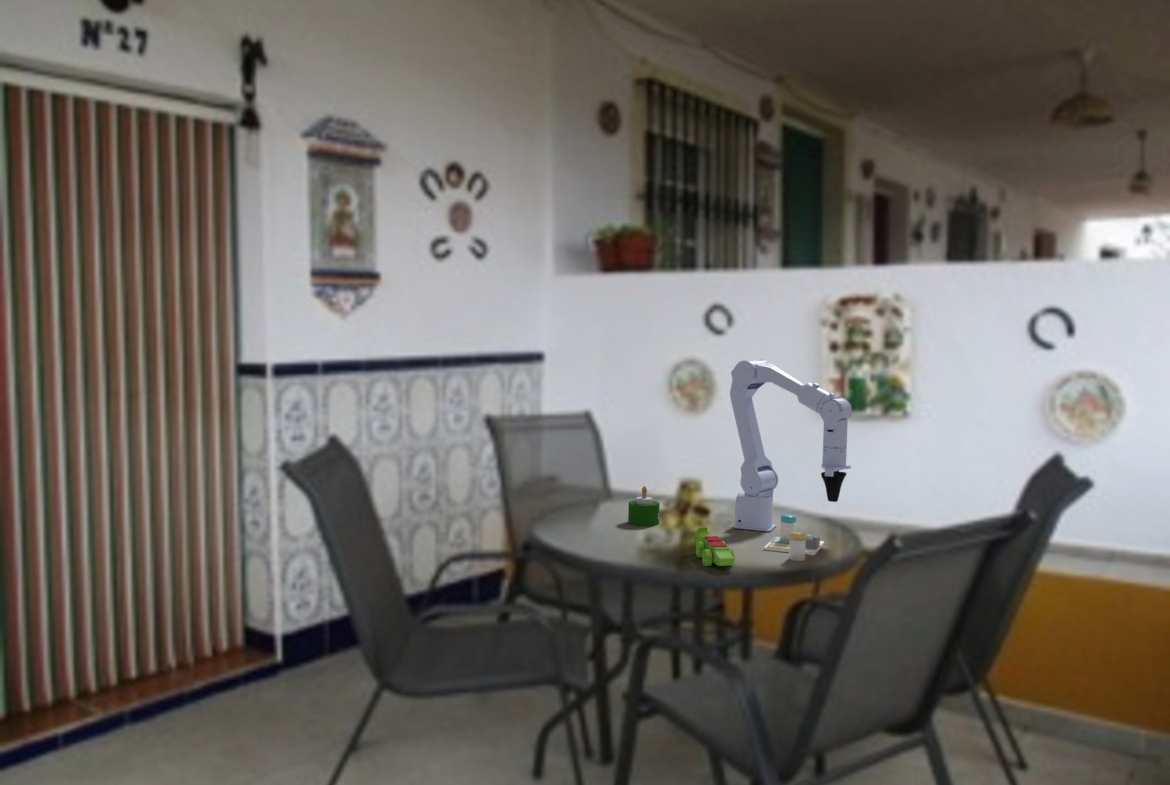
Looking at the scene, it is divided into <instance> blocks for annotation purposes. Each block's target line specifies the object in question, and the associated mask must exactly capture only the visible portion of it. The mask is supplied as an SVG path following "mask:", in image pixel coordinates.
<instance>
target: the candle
mask: <svg viewBox="0 0 1170 785" xmlns="http://www.w3.org/2000/svg"><path fill="white" fill-rule="evenodd" d="M647 492H648V489H647V487H646V486H645V485H644V486H643V487H642V488H641V493H642V495H641V496H637V497H635V500H630V501H628V517H627V519H628V520H627V523H628V525H631V526H636V527H655V526H658V524H659V525H660V518H659V519H658V513H659V514H660V511H661V510H660V507H661V506H660V505H661V504H660V502H659V501H656V500H653V497H651V496H647ZM659 510H660V511H659Z"/></svg>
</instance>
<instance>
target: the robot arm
mask: <svg viewBox="0 0 1170 785" xmlns="http://www.w3.org/2000/svg"><path fill="white" fill-rule="evenodd" d="M730 374H731V379H732V380H731V385H730V391H729V396H730V398H729V399H730V402H731V406H732V411H733V415H734V420H735V424H736V428H737V434H738V437H739V441H740V445H741V450H742V451H741V452H742V455H743V462H742V464H741V466H740V473H741V476H740V480H739V481H740V487H741V489H742V490H743V492H738V493H737V495H736V498H735V504H734V506H735V508H734V509H735V511H734V526H733V528H734V529H740V530H749V531H750V530H751V531H761V532H771V531H772V530H773V529H775V528H776V527H777V524H774V523H773V508H774V495H773V494H774V489H776V488H777V486H778V483H779V477H778V476H779V475H778V473H777V472H776V470H775V469H774V467H773V464H772V463H773V462H772V461H771V460H770V459H769V458H768V457H767V456H766V454H765V450H764V444H763V440H762V436H761V431H760V427H759V424H758V420H757V418H758V417H757V414H756V411H755V406H754V401H753V397H754V395H755V394H756V392H757V391H758V389H759V388H761V387H762V386H763V385H765V384H767V383H771V384H774V385H776V386H777V387H780V388H781V389H783V390H784V391H787V392H789V393H791V394H793V395H795V396H796V397H797V401H798V402H799V404H801V405H803V406H804V407H805V408H808V409H809V410H812V411H813V412H816V413H817V414H818V415H819V416H820V417H821V419H822V420H823V432H822V433H823V436H822V438H823V439H822V463H821V468H822V469H823V470H824V471H823V472H820V476H821V478H822V480H823V483H824V486H825V491H826V492H825V493H826V498H827V501H828V502H834V503H837V502H838V501H839V497H840V492H841V488H842V485H843V482H844V480H845V478H846V476H847V472H845V471H842V470H846V469H847V470H850V469H851V468H852V465H850V464H847V453H848V452H847V450H848V449H847V445H848V422H849V421H848V419H849V418H850V417H851V416H852V413H853V407H852V404H851V402H850V401H848V400H847V399H846V398H845V397H836V394H835V393H833V392H828V391H826V390H824V389H822V388H821V387H820V385H821V384H819V383H817V382H814V383H812V382H808V383H805V384H804V383H802V382H801V381H799V380H798V379H796V378H795V377H793V376H791V375H790V374H789V373H786V372H785V371H783V370H782V369H780V368H779V367H777V365H775V364H773V363H770V362H768V361H767V360H765V359H757V360H741V361H738V362H737V363H736V364H735V366H734V367H733V369H732V370H731V371H730Z"/></svg>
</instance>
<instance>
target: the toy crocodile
mask: <svg viewBox="0 0 1170 785" xmlns="http://www.w3.org/2000/svg"><path fill="white" fill-rule="evenodd" d="M694 543H695V555H696V557H697V559H698V558H700V559H701V560H702V565H703V566H704V567H711V566H712V564H713V563H714V564H715V565H717V567H726V566H727V567H728V566H733V565H734V563H735V553H734V550H733V549H732V548H730V547H729V546H728V545H727V544H726V541H724V540H722V539H721V537H719V536H718V535H714V536H713V535H709V531H708V526H706V527H698V528H697V529H696V531H695V533H694Z"/></svg>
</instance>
